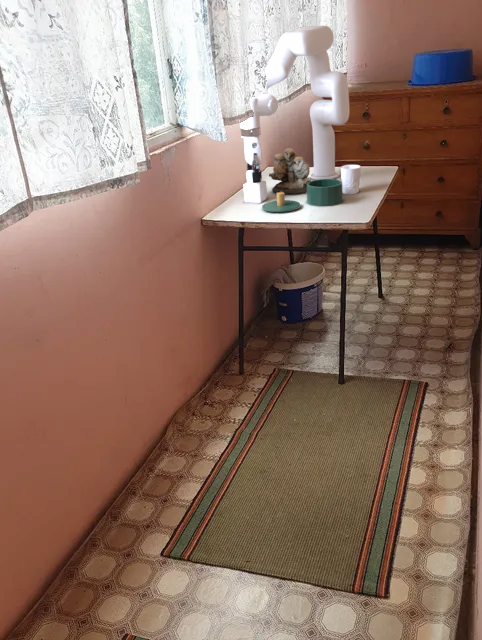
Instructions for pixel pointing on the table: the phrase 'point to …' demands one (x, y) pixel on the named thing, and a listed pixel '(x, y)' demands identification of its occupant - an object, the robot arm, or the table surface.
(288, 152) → the owl figurine
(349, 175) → the white cup
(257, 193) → the medicine bottle
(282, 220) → the table surface
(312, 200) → the tin
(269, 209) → the lid
